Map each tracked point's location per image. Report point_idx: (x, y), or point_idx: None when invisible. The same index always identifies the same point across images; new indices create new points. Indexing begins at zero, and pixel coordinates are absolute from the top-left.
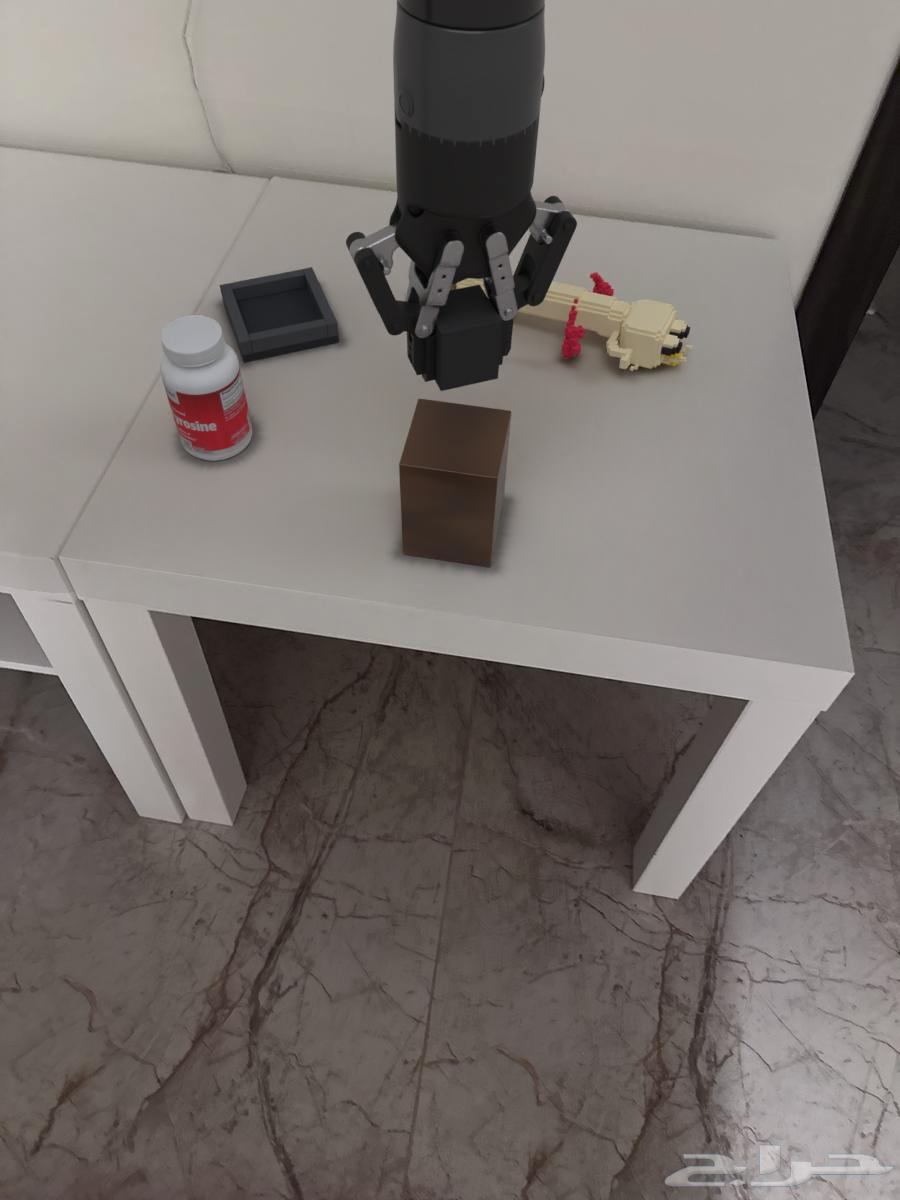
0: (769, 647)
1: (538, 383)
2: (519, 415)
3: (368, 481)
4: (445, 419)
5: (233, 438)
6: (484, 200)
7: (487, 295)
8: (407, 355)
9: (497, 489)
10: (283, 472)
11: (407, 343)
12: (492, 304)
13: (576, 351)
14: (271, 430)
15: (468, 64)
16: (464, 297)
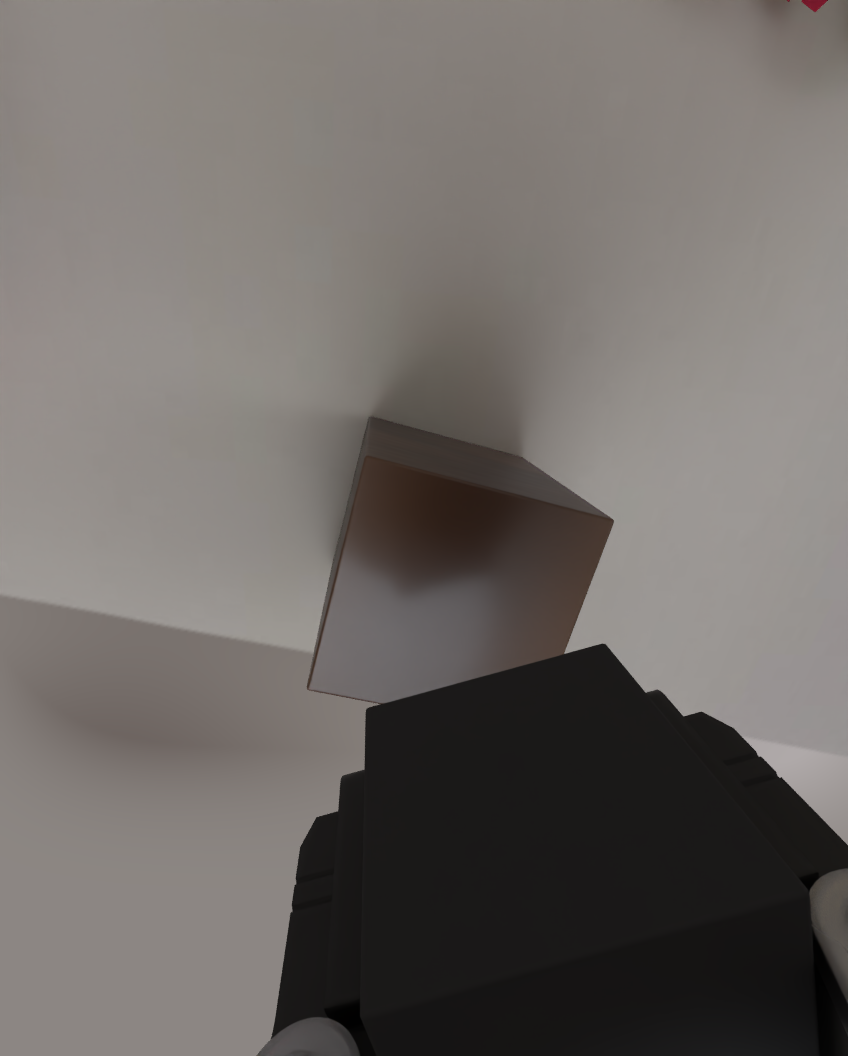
0: (827, 739)
1: (676, 74)
2: (606, 196)
3: (264, 381)
4: (434, 544)
5: None
6: None
7: (820, 968)
8: (300, 852)
9: None
10: (77, 339)
11: (292, 916)
12: (818, 1018)
13: (819, 3)
14: (20, 189)
15: None
16: (668, 1024)
